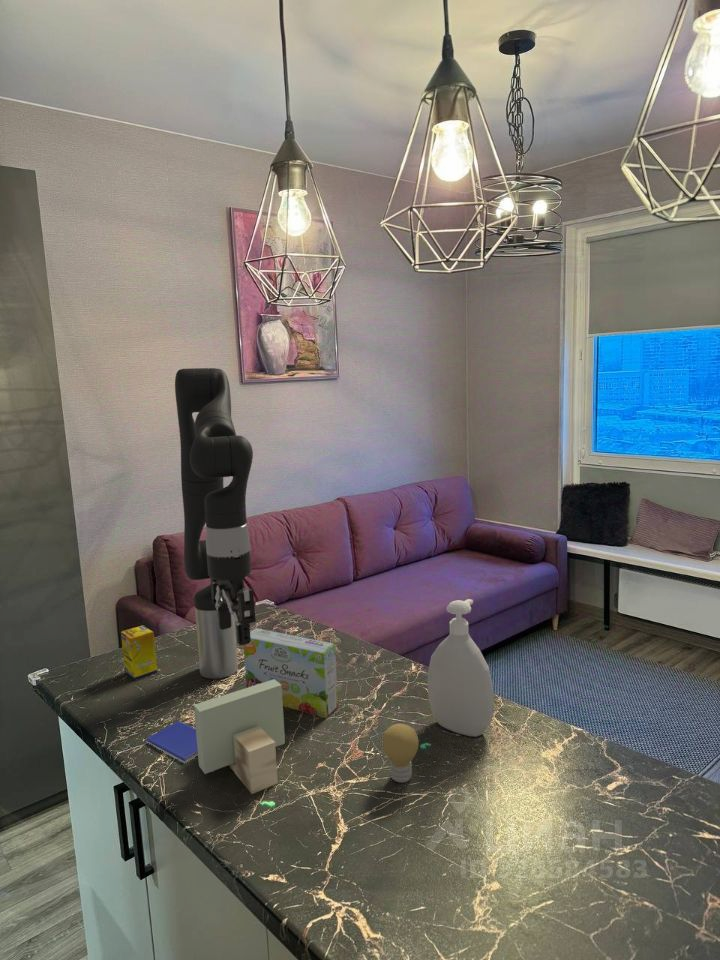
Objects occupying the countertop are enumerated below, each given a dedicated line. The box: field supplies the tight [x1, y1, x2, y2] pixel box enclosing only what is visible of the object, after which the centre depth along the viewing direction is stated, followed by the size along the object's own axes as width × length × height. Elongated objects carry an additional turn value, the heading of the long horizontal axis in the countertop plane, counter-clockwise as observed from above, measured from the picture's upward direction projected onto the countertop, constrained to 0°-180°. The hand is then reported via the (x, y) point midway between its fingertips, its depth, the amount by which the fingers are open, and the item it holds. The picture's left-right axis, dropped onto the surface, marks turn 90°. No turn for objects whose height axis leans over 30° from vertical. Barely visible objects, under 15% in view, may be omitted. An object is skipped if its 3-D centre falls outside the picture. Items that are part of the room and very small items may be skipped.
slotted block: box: [228, 726, 278, 795], centre depth 121 cm, size 18×5×8 cm, turn 34°
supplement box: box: [120, 624, 158, 681], centre depth 160 cm, size 6×6×11 cm
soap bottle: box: [427, 598, 495, 737], centre depth 130 cm, size 14×8×27 cm, turn 53°
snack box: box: [242, 627, 339, 718], centre depth 143 cm, size 21×6×15 cm, turn 62°
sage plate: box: [193, 679, 286, 775], centre depth 121 cm, size 3×16×12 cm, turn 124°
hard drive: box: [145, 720, 198, 765], centre depth 130 cm, size 2×8×12 cm
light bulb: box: [381, 723, 419, 784], centre depth 115 cm, size 6×6×10 cm
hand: (234, 635), depth 118 cm, fingers open, 8 cm apart
